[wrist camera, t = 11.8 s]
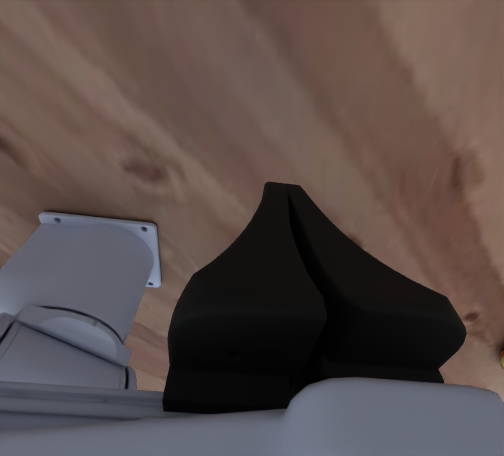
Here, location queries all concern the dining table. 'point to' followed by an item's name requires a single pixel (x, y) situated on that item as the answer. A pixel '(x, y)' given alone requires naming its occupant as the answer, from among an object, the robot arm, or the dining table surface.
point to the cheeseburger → (502, 358)
